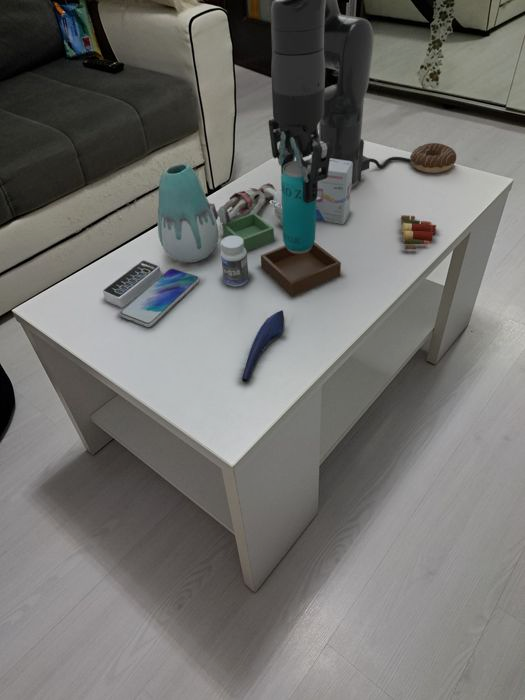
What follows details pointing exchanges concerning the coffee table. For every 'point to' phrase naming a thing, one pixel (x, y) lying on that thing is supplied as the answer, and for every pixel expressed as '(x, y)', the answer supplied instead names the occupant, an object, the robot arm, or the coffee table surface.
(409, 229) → the ammunition
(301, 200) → the beverage can
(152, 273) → the multiport hub
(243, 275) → the pill bottle
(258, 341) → the tapered navy handle
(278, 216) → the figurine
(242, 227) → the pill tray
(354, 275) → the coffee table surface
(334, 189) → the ink box
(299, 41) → the robot arm
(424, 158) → the donut
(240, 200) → the figurine
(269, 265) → the can tray
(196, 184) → the vase
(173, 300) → the smartphone
